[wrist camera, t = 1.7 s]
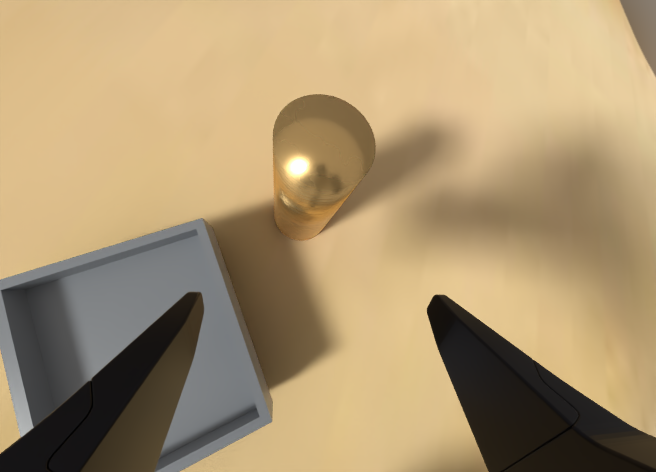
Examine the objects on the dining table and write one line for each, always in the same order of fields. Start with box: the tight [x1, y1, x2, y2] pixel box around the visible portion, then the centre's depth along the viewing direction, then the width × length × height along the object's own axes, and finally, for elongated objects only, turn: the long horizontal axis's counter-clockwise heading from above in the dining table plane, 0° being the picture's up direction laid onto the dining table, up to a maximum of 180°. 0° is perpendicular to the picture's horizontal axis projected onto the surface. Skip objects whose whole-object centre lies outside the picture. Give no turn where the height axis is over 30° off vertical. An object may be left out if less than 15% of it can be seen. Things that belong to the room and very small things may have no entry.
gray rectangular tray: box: [0, 218, 273, 472], centre depth 17 cm, size 14×12×4 cm
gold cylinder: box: [273, 94, 376, 240], centre depth 18 cm, size 5×5×12 cm
